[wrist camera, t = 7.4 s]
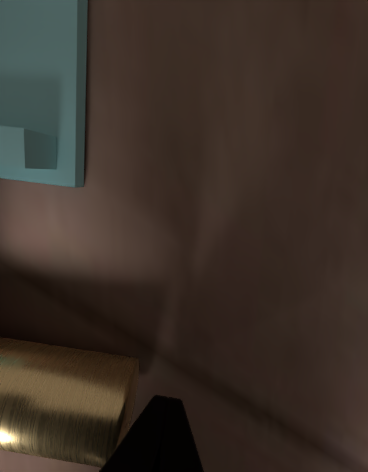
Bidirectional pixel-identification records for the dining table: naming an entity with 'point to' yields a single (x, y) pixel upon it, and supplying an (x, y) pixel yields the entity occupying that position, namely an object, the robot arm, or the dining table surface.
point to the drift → (64, 401)
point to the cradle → (43, 90)
